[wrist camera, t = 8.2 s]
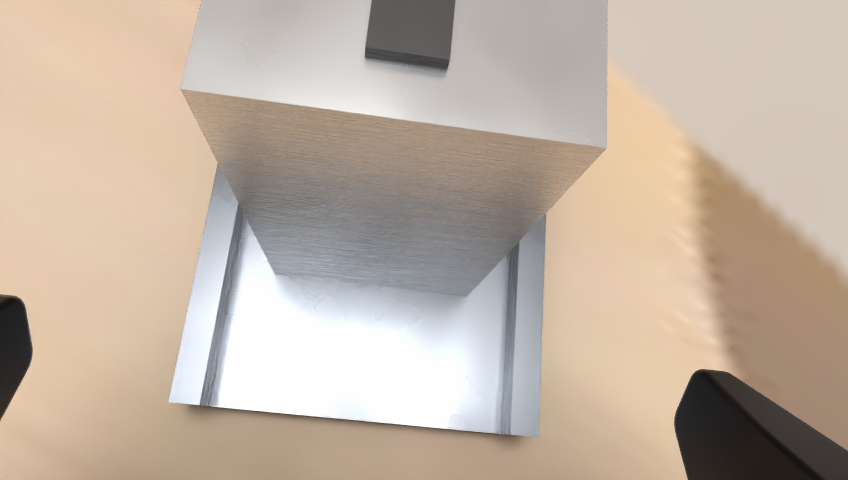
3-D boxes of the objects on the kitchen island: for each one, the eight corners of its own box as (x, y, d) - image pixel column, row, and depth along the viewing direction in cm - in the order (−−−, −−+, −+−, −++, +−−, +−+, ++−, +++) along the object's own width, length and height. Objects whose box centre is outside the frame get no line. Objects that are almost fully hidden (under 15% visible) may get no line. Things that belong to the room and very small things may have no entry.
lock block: (467, 296, 19) (614, 139, 9) (274, 274, 19) (175, 78, 8) (477, 152, 21) (614, -136, 10) (299, 128, 20) (243, -202, 10)
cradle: (519, 435, 19) (561, 439, 15) (187, 404, 18) (144, 399, 14) (535, 71, 23) (572, 1, 19) (260, 31, 22) (242, -51, 18)
